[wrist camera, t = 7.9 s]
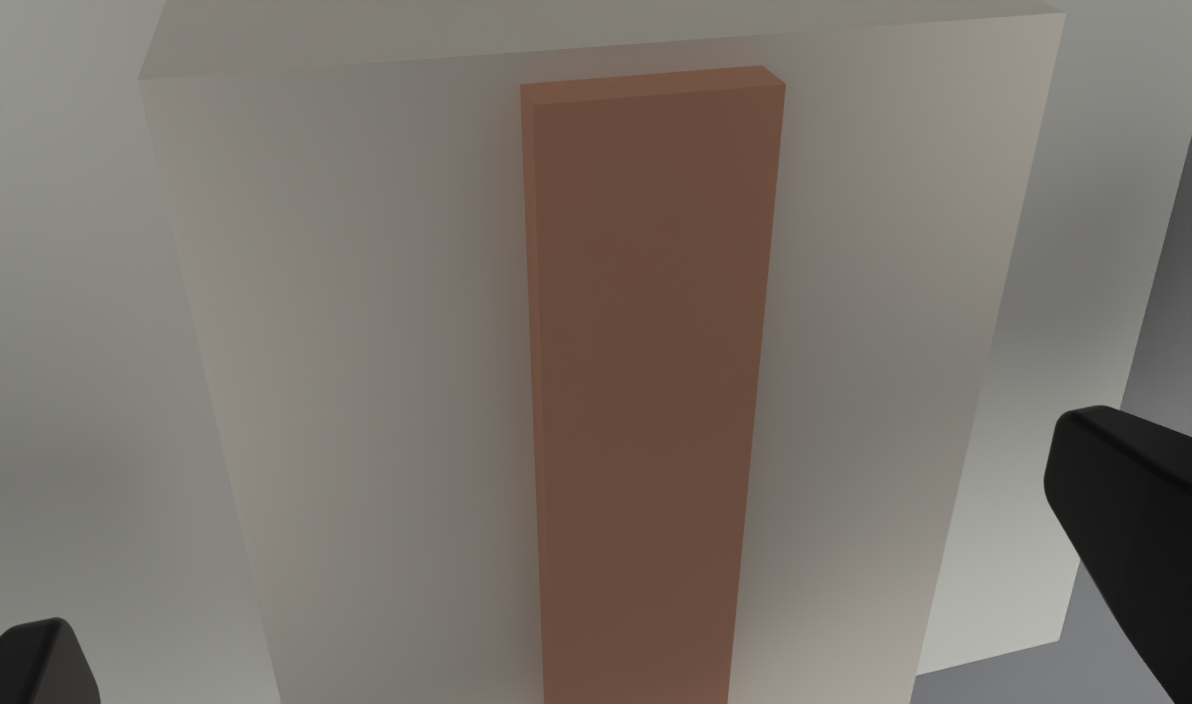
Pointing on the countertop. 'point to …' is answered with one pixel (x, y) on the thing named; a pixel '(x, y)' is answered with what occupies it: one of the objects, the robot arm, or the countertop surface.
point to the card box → (596, 329)
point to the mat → (187, 421)
